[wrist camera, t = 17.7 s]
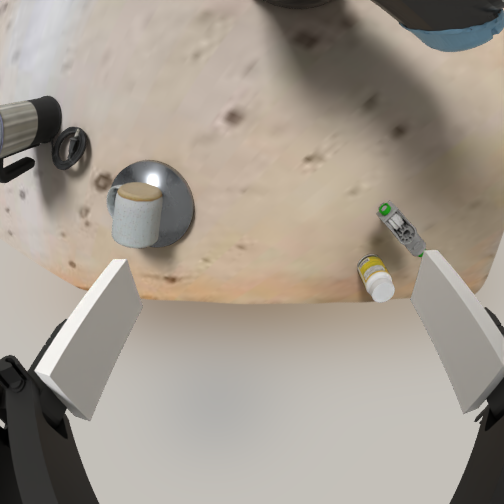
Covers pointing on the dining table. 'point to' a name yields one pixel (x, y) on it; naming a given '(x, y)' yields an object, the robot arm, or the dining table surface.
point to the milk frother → (35, 134)
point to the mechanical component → (401, 228)
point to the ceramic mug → (135, 214)
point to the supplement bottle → (376, 278)
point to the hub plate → (173, 193)
